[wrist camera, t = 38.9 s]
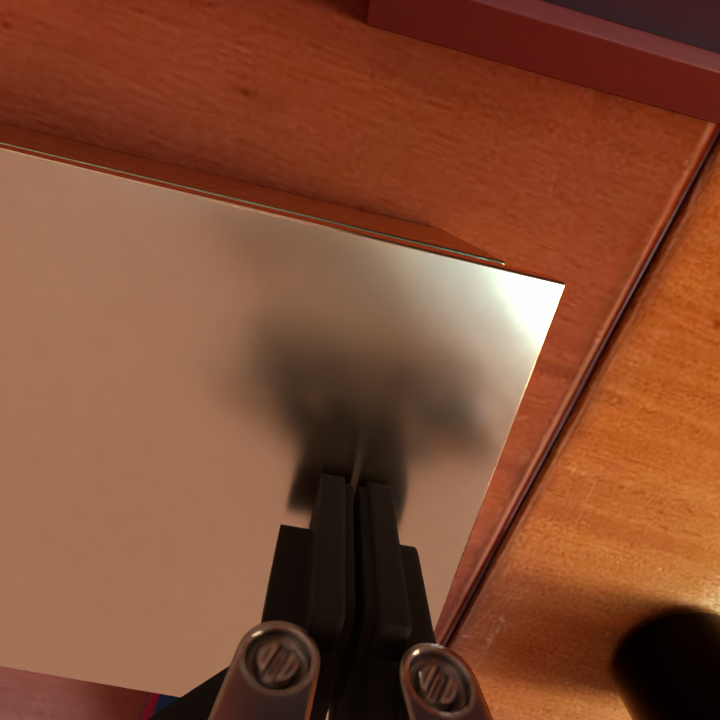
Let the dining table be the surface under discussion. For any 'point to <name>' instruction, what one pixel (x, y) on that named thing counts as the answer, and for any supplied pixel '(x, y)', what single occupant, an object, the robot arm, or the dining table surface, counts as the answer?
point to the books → (583, 42)
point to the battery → (671, 668)
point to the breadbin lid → (223, 408)
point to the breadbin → (238, 190)
